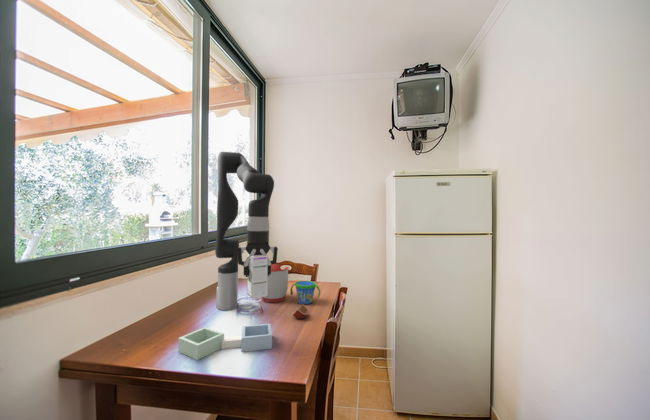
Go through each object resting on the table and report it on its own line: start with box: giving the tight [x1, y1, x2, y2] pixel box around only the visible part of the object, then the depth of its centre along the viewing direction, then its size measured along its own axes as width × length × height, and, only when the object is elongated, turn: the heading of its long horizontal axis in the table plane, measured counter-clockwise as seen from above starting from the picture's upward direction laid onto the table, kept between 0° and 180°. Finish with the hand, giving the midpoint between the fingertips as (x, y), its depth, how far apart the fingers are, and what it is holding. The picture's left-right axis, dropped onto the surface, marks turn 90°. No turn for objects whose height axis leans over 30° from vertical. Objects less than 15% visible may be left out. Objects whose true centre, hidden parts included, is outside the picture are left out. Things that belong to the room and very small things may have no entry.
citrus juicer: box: [261, 263, 290, 304], centre depth 145 cm, size 16×17×20 cm
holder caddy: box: [177, 323, 273, 361], centre depth 93 cm, size 30×14×4 cm, turn 105°
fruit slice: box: [292, 304, 310, 320], centre depth 120 cm, size 8×7×5 cm
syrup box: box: [246, 254, 269, 299], centre depth 96 cm, size 6×6×14 cm
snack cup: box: [289, 280, 321, 305], centre depth 140 cm, size 16×11×10 cm
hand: (257, 276), depth 96 cm, fingers closed on syrup box, 6 cm apart
